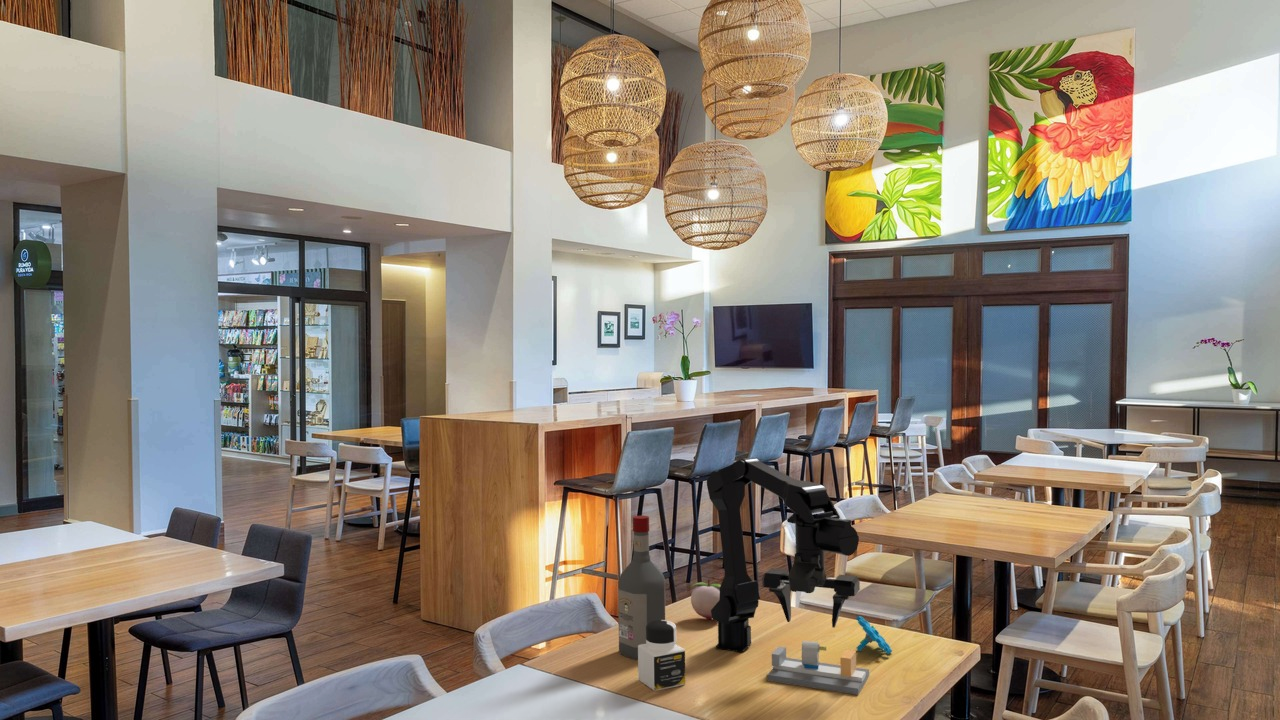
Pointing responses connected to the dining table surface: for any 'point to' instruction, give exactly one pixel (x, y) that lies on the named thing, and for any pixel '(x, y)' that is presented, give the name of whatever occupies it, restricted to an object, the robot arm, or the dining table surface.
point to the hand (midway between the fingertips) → (811, 624)
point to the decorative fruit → (705, 598)
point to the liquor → (639, 593)
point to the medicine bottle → (661, 657)
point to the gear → (871, 636)
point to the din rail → (815, 674)
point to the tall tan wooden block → (848, 663)
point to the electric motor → (811, 654)
